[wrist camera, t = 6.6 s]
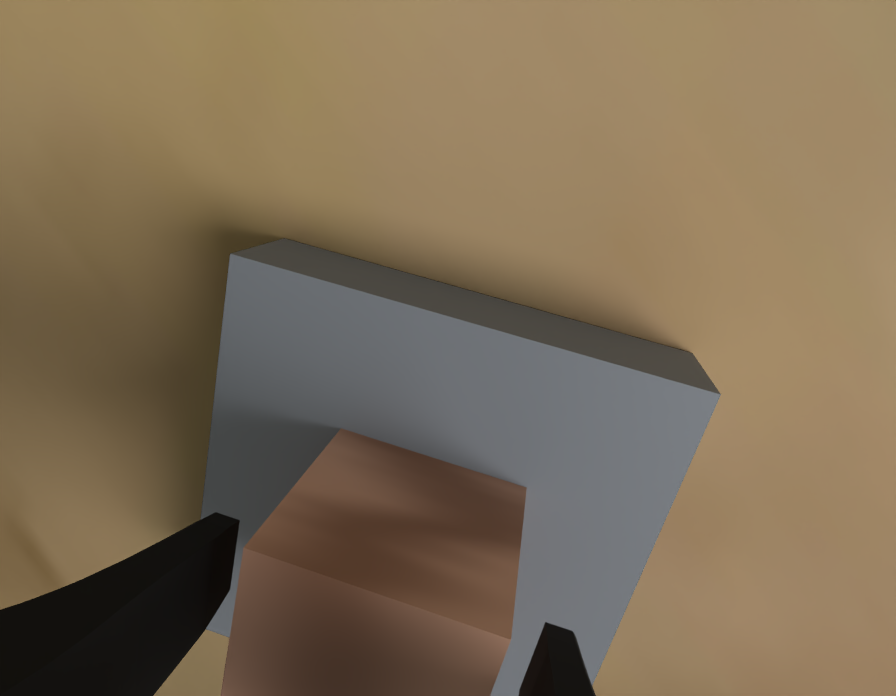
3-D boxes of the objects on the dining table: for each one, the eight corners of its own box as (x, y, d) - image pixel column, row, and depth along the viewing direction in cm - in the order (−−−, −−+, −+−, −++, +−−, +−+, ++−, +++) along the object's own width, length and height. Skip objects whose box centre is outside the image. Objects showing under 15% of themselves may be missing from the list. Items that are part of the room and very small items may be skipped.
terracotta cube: (526, 487, 15) (511, 639, 10) (475, 634, 16) (442, 824, 12) (341, 427, 15) (243, 547, 11) (310, 577, 17) (214, 736, 12)
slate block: (692, 353, 16) (720, 394, 13) (561, 671, 20) (561, 754, 17) (284, 238, 17) (230, 253, 14) (238, 561, 21) (189, 622, 18)
